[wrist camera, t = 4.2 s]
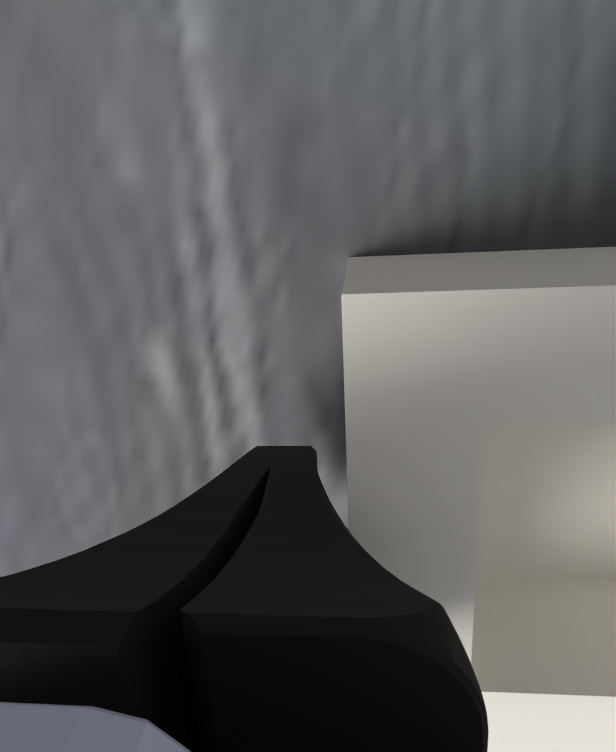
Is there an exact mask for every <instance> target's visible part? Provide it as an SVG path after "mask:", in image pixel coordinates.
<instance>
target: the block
mask: <svg viewBox="0 0 616 752" xmlns="http://www.w3.org/2000/svg"><path fill="white" fill-rule="evenodd" d="M341 300H342V331H343V362H344V394H345V425H346V456H347V487H348V519H349V531H350V533H351V534H352V535H353V537H354V538H355V539H356V540H357V541H358V542H359V544H360V545H361V546H362V547H363V548H364V549H365V550H366V552H368V553H369V554H370V555H371V556H372V557H373V558H374V559H375V560H376V561H377V562H378V563H379V564H380V565H382V566H383V567H384V568H385V569H386V570H388V571H389V572H390V573H392V574H393V575H394V576H396V577H397V578H398V579H400V580H401V581H403V582H404V583H406V584H408V585H409V586H411V587H413V588H414V589H416V590H418V591H420V592H421V593H423V594H425V595H427V596H428V597H430V598H432V599H433V600H435V601H437V602H439V603H440V604H441V605H442V606H443V607H444V609H445V611H446V613H447V614H448V616H449V618H450V620H451V622H452V624H453V626H454V628H455V630H456V632H457V634H458V636H459V638H460V640H461V642H462V644H463V646H464V648H465V651H466V653H467V655H468V657H469V660H470V662H471V665H472V667H473V670H474V672H475V675H476V678H477V680H478V683H479V686H480V689H481V692H482V695H483V699H484V702H485V707H486V711H487V719H488V732H489V735H488V749H487V752H616V247H594V248H569V249H543V250H518V251H492V252H467V253H442V254H416V255H391V256H365V257H349V258H348V263H347V268H346V273H345V278H344V283H343V288H342V294H341Z"/></svg>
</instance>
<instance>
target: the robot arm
mask: <svg viewBox="0 0 616 752" xmlns="http://www.w3.org/2000/svg"><path fill="white" fill-rule="evenodd" d="M488 735H489V732H488V719H487V711H486V707H485V702H484V699H483V695H482V692H481V689H480V686H479V683H478V680H477V678H476V675H475V672H474V670H473V667H472V665H471V662H470V660H469V657H468V655H467V653H466V651H465V648H464V646H463V644H462V642H461V640H460V638H459V636H458V634H457V632H456V630H455V628H454V626H453V624H452V622H451V620H450V618H449V616H448V614H447V613H446V611H445V609H444V607H443V606H442V605H441V604H440V603H439V602H437V601H435V600H433V599H432V598H430V597H428V596H427V595H425V594H423V593H421V592H420V591H418V590H416V589H414V588H413V587H411V586H409V585H408V584H406V583H404V582H403V581H401V580H400V579H398V578H397V577H396V576H394V575H393V574H392V573H390V572H389V571H388V570H386V569H385V568H384V567H383V566H382V565H380V564H379V563H378V562H377V561H376V560H375V559H374V558H373V557H372V556H371V555H370V554H369V553H368V552H366V550H365V549H364V548H363V547H362V546H361V545H360V544H359V542H358V541H357V540H356V539H355V538H354V537H353V535H352V534H351V533H350V531H349V530H348V529H347V527H346V526H345V525H344V523H343V522H342V520H341V519H340V517H339V516H338V514H337V513H336V511H335V509H334V507H333V506H332V504H331V502H330V500H329V498H328V496H327V494H326V492H325V490H324V487H323V485H322V483H321V480H320V478H319V475H318V471H317V454H316V450H315V449H314V448H312V447H311V446H257V447H255V448H253V449H252V450H250V451H249V452H248V453H246V454H245V455H244V456H243V457H241V458H240V459H239V460H238V461H236V462H235V463H234V464H232V465H231V466H230V467H229V468H227V469H226V470H225V471H223V472H222V473H221V474H219V475H218V476H217V477H216V478H214V479H213V480H212V481H210V482H209V483H208V484H206V485H205V486H203V487H202V488H200V489H199V490H197V491H196V492H194V493H193V494H192V495H190V496H189V497H187V498H186V499H184V500H183V501H181V502H180V503H178V504H177V505H175V506H174V507H172V508H170V509H169V510H167V511H165V512H164V513H162V514H160V515H159V516H157V517H155V518H153V519H151V520H149V521H147V522H146V523H144V524H142V525H140V526H138V527H136V528H134V529H132V530H130V531H128V532H126V533H124V534H121V535H119V536H117V537H114V538H112V539H110V540H107V541H105V542H103V543H100V544H98V545H96V546H94V547H91V548H89V549H87V550H84V551H82V552H79V553H76V554H73V555H71V556H68V557H65V558H62V559H59V560H57V561H54V562H51V563H47V564H44V565H41V566H38V567H35V568H32V569H29V570H25V571H22V572H18V573H15V574H12V575H8V576H4V577H0V752H487V749H488Z"/></svg>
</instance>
